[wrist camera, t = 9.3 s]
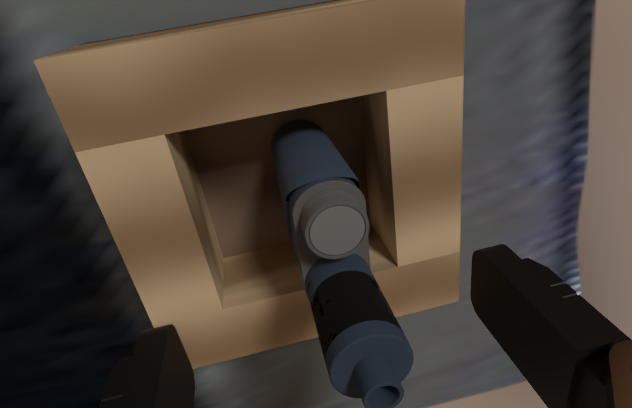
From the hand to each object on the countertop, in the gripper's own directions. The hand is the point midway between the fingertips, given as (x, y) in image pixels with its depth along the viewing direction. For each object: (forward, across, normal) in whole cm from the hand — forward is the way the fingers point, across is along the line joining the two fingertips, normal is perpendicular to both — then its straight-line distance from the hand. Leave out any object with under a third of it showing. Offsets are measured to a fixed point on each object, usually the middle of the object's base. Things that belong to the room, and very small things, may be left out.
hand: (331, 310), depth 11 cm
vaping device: (+10, -1, 0) cm, 10 cm away
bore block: (+11, 0, 0) cm, 11 cm away
